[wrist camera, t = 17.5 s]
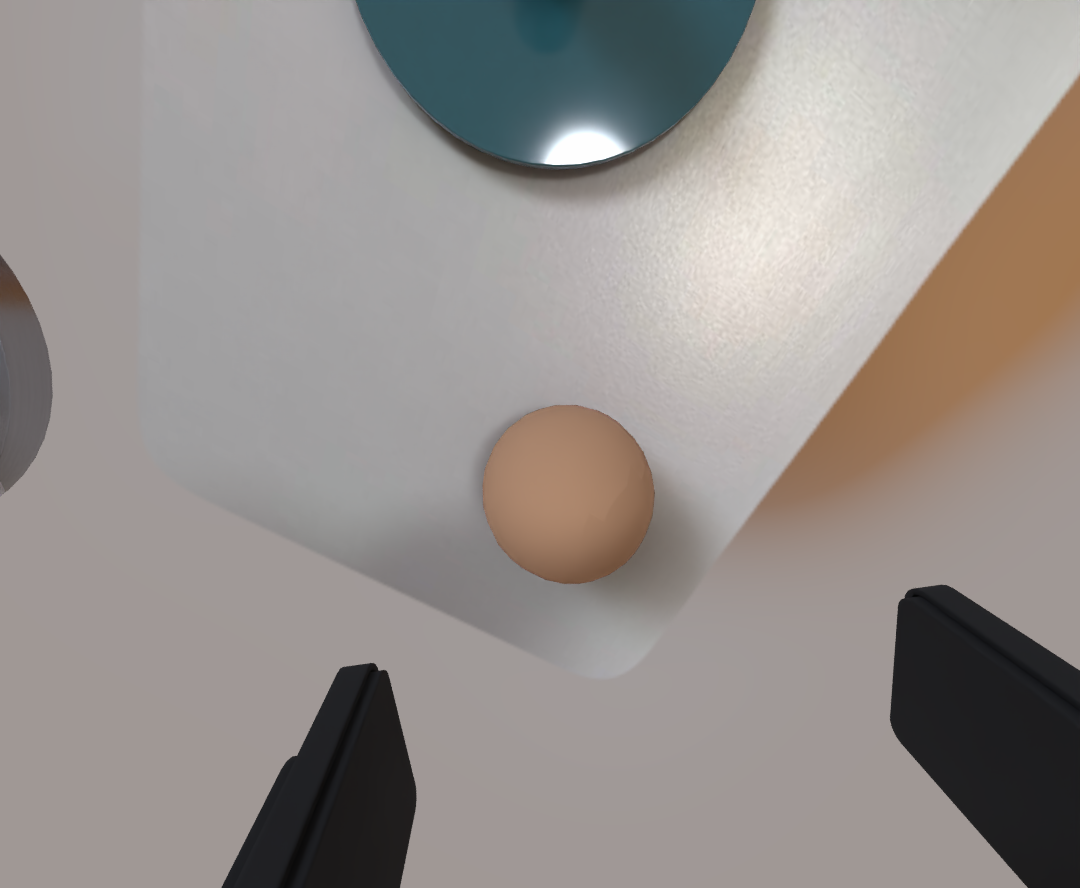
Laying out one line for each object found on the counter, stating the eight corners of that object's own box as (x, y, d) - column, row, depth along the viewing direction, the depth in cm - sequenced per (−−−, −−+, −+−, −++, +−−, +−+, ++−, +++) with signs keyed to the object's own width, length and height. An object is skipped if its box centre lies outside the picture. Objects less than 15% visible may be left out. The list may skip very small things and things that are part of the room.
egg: (461, 430, 23) (435, 497, 15) (592, 365, 22) (638, 399, 14) (525, 547, 24) (533, 664, 16) (649, 489, 24) (717, 580, 16)
